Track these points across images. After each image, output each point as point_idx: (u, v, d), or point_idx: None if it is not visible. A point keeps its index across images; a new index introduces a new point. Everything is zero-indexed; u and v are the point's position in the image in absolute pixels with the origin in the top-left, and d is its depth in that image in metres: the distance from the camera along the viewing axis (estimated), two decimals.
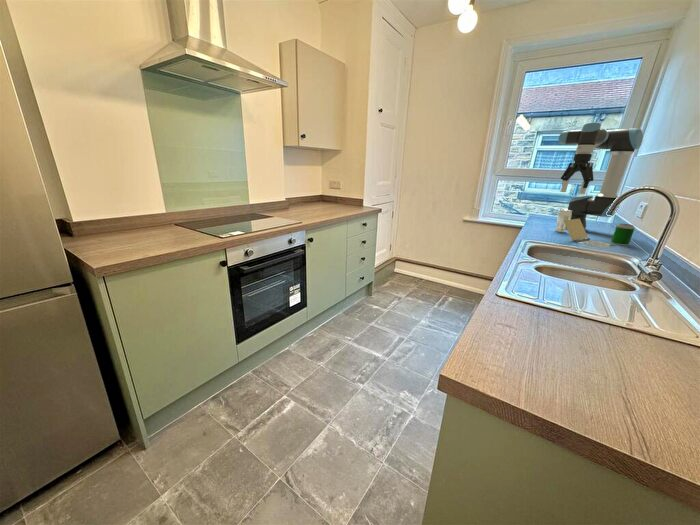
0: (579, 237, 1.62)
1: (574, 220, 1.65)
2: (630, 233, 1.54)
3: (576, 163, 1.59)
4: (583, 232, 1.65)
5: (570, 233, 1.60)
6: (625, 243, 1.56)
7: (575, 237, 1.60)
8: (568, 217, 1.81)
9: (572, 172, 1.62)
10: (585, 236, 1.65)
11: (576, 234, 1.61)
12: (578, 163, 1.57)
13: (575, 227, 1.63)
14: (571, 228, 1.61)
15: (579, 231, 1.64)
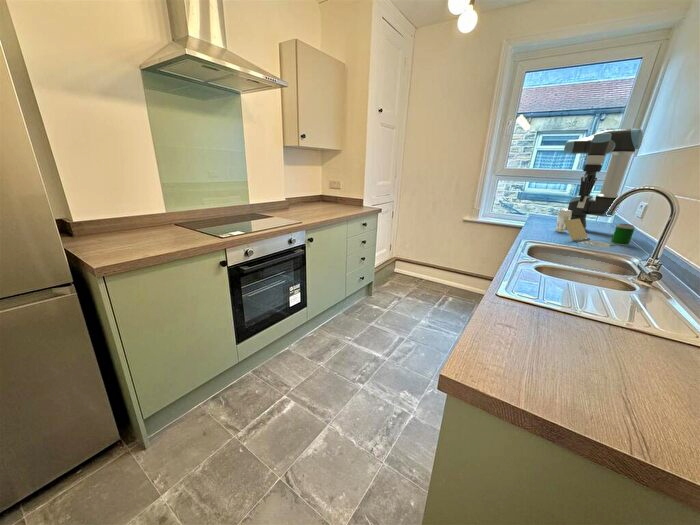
0: (579, 237, 1.62)
1: (574, 220, 1.65)
2: (630, 233, 1.54)
3: None
4: (583, 232, 1.65)
5: (570, 233, 1.60)
6: (625, 243, 1.56)
7: (575, 237, 1.60)
8: (568, 217, 1.81)
9: None
10: (585, 236, 1.65)
11: (576, 234, 1.61)
12: None
13: (575, 227, 1.63)
14: (571, 228, 1.61)
15: (579, 231, 1.64)
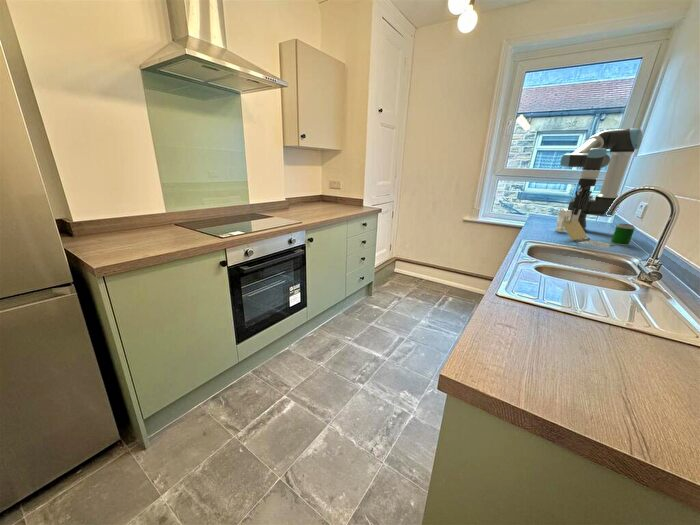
0: (579, 237, 1.62)
1: (572, 221, 1.66)
2: (630, 233, 1.54)
3: None
4: (582, 232, 1.66)
5: (569, 233, 1.60)
6: (625, 243, 1.56)
7: (575, 237, 1.60)
8: (568, 217, 1.81)
9: None
10: (585, 236, 1.65)
11: (575, 234, 1.62)
12: None
13: (574, 227, 1.64)
14: (570, 229, 1.62)
15: (578, 231, 1.64)
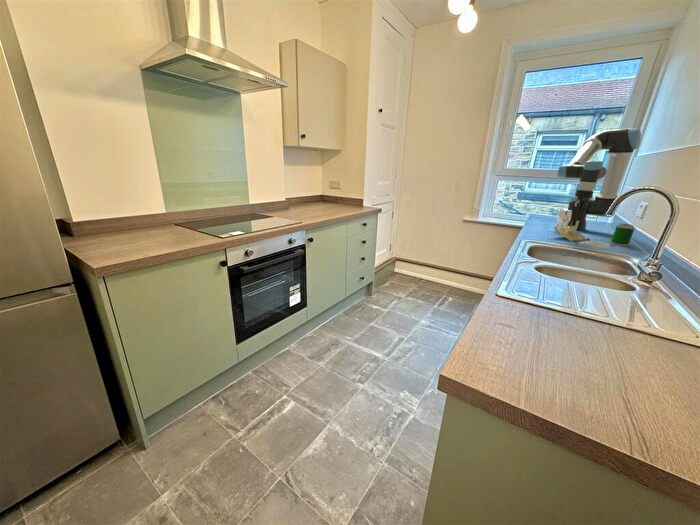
0: (577, 238, 1.63)
1: (564, 227, 1.70)
2: (630, 233, 1.54)
3: None
4: (579, 234, 1.67)
5: (566, 236, 1.62)
6: (625, 243, 1.56)
7: (573, 238, 1.61)
8: (568, 217, 1.81)
9: None
10: (583, 237, 1.66)
11: (572, 236, 1.63)
12: None
13: (568, 231, 1.67)
14: (565, 232, 1.64)
15: (574, 234, 1.66)
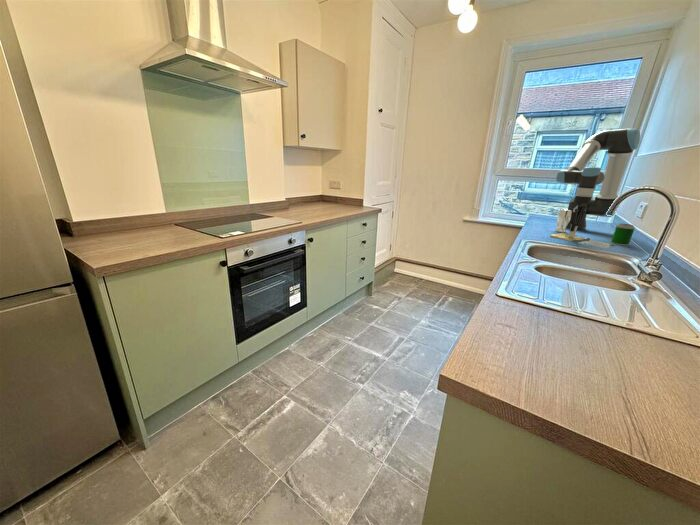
0: (576, 239, 1.63)
1: (559, 233, 1.73)
2: (630, 233, 1.54)
3: None
4: (577, 237, 1.68)
5: (564, 239, 1.63)
6: (625, 243, 1.56)
7: (572, 240, 1.61)
8: (568, 217, 1.81)
9: None
10: (582, 238, 1.66)
11: (571, 238, 1.64)
12: None
13: (565, 236, 1.69)
14: (562, 237, 1.66)
15: (572, 237, 1.67)
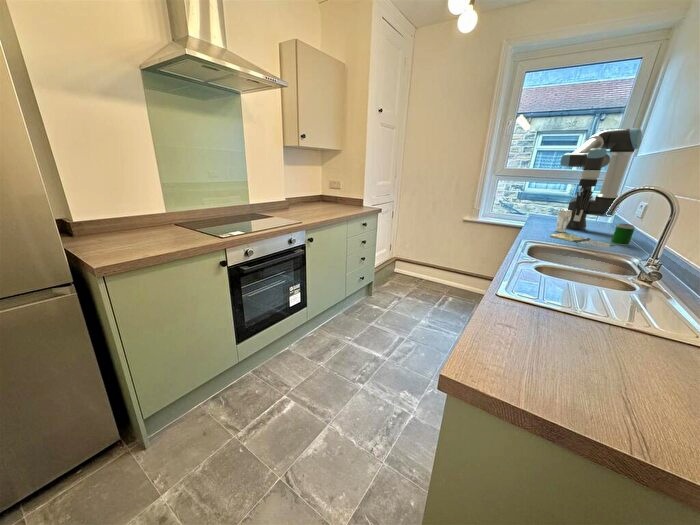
0: (576, 239, 1.63)
1: (559, 233, 1.73)
2: (630, 233, 1.54)
3: None
4: (577, 237, 1.68)
5: (564, 239, 1.63)
6: (625, 243, 1.56)
7: (572, 240, 1.61)
8: (568, 217, 1.81)
9: None
10: (582, 238, 1.66)
11: (571, 238, 1.64)
12: None
13: (565, 236, 1.69)
14: (562, 237, 1.66)
15: (572, 237, 1.67)
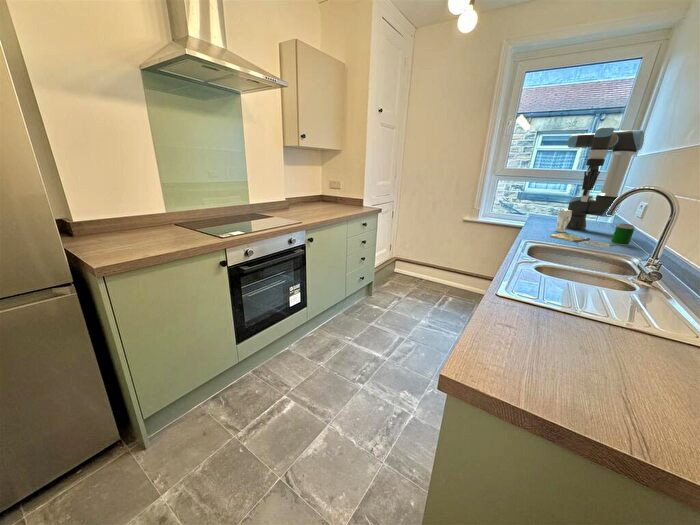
0: (576, 239, 1.63)
1: (559, 233, 1.73)
2: (630, 233, 1.54)
3: None
4: (577, 237, 1.68)
5: (564, 239, 1.63)
6: (625, 243, 1.56)
7: (572, 240, 1.61)
8: (568, 217, 1.81)
9: None
10: (582, 238, 1.66)
11: (571, 238, 1.64)
12: None
13: (565, 236, 1.69)
14: (562, 237, 1.66)
15: (572, 237, 1.67)
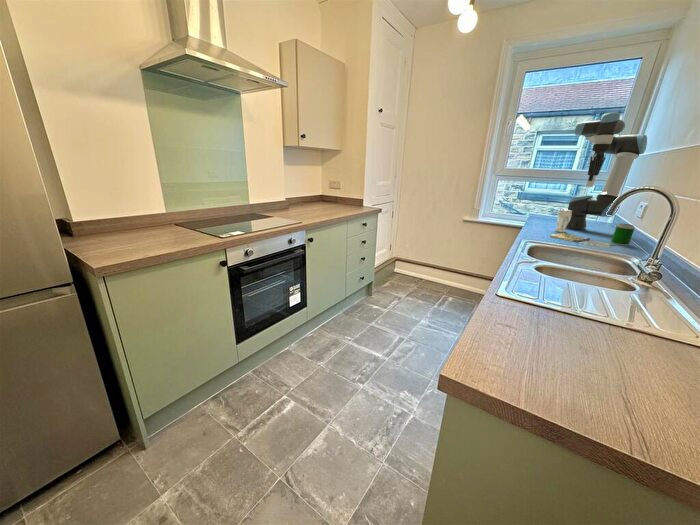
0: (576, 239, 1.63)
1: (559, 233, 1.73)
2: (630, 233, 1.54)
3: None
4: (577, 237, 1.68)
5: (564, 239, 1.63)
6: (625, 243, 1.56)
7: (572, 240, 1.61)
8: (568, 217, 1.81)
9: None
10: (582, 238, 1.66)
11: (571, 238, 1.64)
12: None
13: (565, 236, 1.69)
14: (562, 237, 1.66)
15: (572, 237, 1.67)
